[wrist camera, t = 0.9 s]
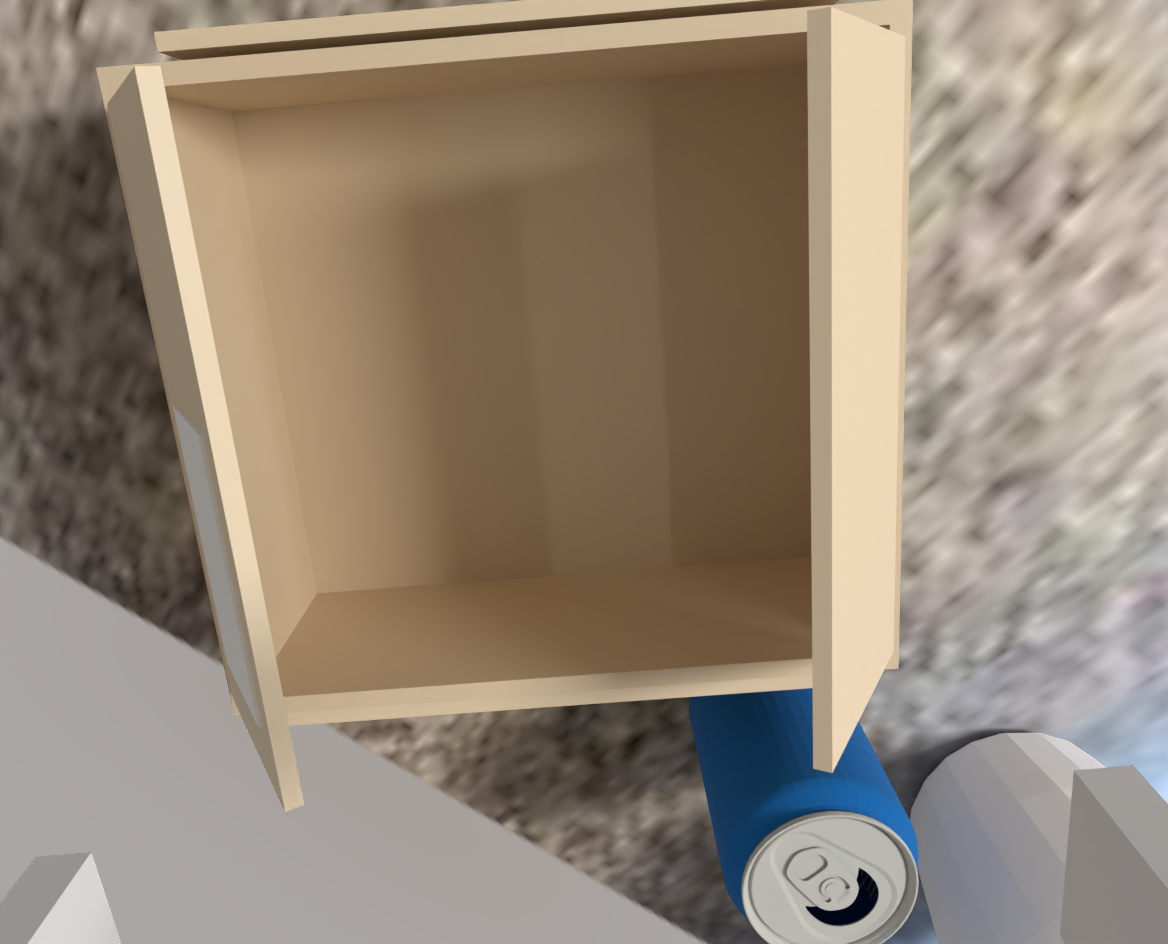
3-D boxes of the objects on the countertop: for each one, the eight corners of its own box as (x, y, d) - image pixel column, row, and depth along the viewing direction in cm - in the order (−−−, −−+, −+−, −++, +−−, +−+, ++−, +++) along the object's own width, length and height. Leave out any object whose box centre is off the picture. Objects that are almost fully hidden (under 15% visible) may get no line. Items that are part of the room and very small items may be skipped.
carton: (213, 71, 34) (88, 33, 25) (827, 19, 33) (913, -38, 25) (312, 620, 40) (239, 739, 32) (828, 581, 40) (898, 691, 31)
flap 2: (893, 651, 30) (832, 773, 24) (877, 648, 30) (813, 768, 25) (905, 36, 25) (830, 6, 19) (886, 39, 25) (807, 10, 19)
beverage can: (751, 783, 43) (814, 1004, 31) (656, 690, 41) (686, 886, 30) (864, 697, 41) (973, 894, 30) (770, 598, 40) (847, 765, 29)
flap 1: (103, 104, 25) (129, 66, 19) (127, 103, 25) (160, 65, 20) (230, 700, 30) (280, 813, 24) (249, 694, 31) (304, 804, 25)
